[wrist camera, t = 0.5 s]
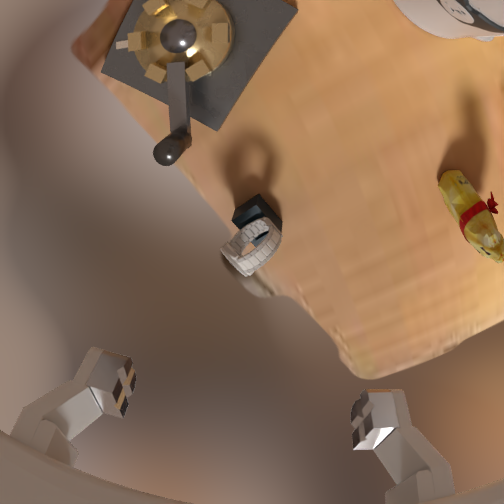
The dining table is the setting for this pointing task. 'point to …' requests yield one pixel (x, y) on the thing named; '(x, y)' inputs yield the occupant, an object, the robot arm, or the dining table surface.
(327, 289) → the dining table surface
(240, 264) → the watch
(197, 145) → the dining table surface
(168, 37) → the ball knob lever
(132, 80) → the plate
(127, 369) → the robot arm
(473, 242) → the chocolate bunny
